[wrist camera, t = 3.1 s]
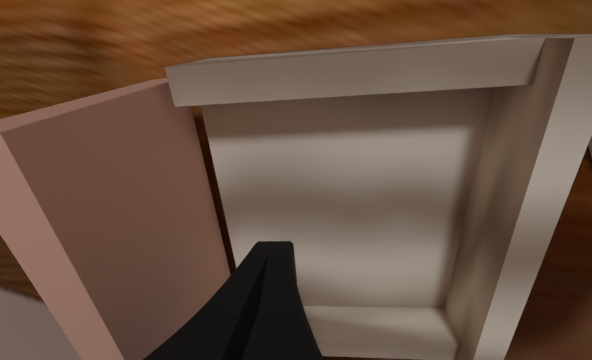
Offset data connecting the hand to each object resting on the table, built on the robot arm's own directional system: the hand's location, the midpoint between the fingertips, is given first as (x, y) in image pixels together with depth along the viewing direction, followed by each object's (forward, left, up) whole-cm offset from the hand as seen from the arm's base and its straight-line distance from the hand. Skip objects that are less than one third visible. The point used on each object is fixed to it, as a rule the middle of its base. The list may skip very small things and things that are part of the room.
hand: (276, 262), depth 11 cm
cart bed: (0, -3, -5) cm, 6 cm away
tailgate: (0, +4, -3) cm, 5 cm away
